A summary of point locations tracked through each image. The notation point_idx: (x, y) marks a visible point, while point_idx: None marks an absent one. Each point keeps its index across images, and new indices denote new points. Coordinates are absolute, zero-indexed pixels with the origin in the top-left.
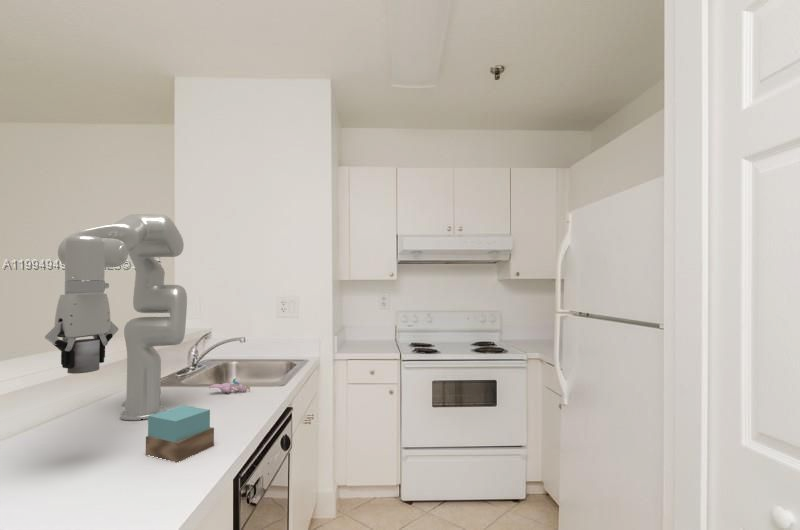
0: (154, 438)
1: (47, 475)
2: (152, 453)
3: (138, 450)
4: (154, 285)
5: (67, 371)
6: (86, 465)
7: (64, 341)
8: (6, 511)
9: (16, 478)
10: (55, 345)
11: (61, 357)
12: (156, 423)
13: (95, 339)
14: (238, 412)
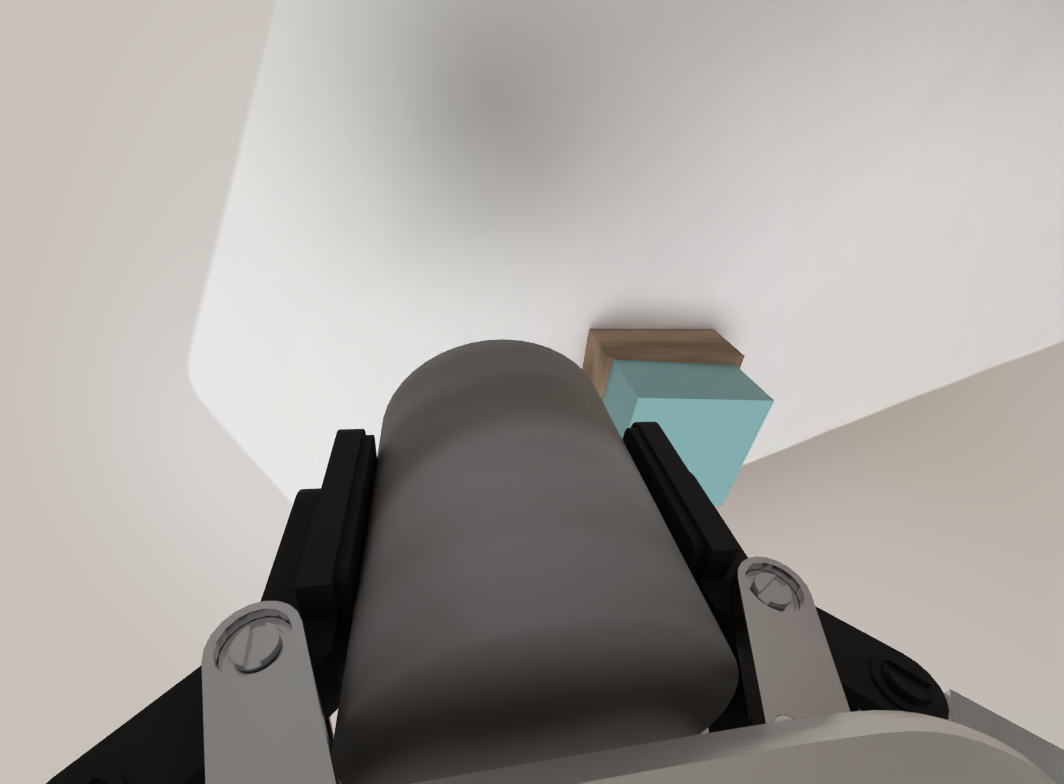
0: (600, 392)
1: (371, 169)
2: (587, 361)
3: (620, 270)
4: None
5: (392, 400)
6: (478, 221)
7: (258, 777)
8: (198, 317)
9: (296, 67)
10: (104, 759)
11: (280, 550)
12: (618, 424)
13: (675, 726)
14: (970, 293)
